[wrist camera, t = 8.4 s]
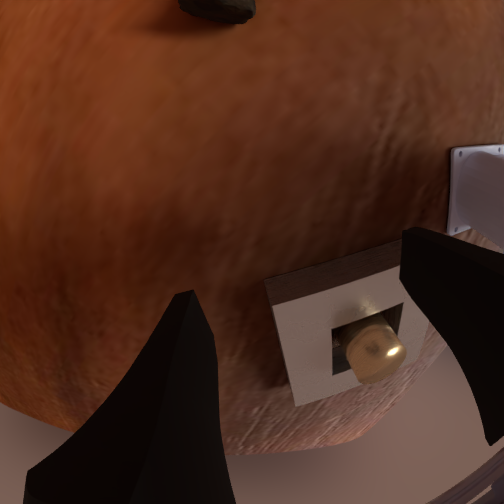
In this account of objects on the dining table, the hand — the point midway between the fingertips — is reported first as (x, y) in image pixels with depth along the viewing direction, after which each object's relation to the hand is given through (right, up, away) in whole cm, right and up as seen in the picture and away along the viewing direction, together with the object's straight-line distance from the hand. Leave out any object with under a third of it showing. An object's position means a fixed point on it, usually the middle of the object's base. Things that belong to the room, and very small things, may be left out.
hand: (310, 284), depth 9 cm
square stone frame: (+7, -5, +15) cm, 17 cm away
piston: (+7, -5, +15) cm, 17 cm away
